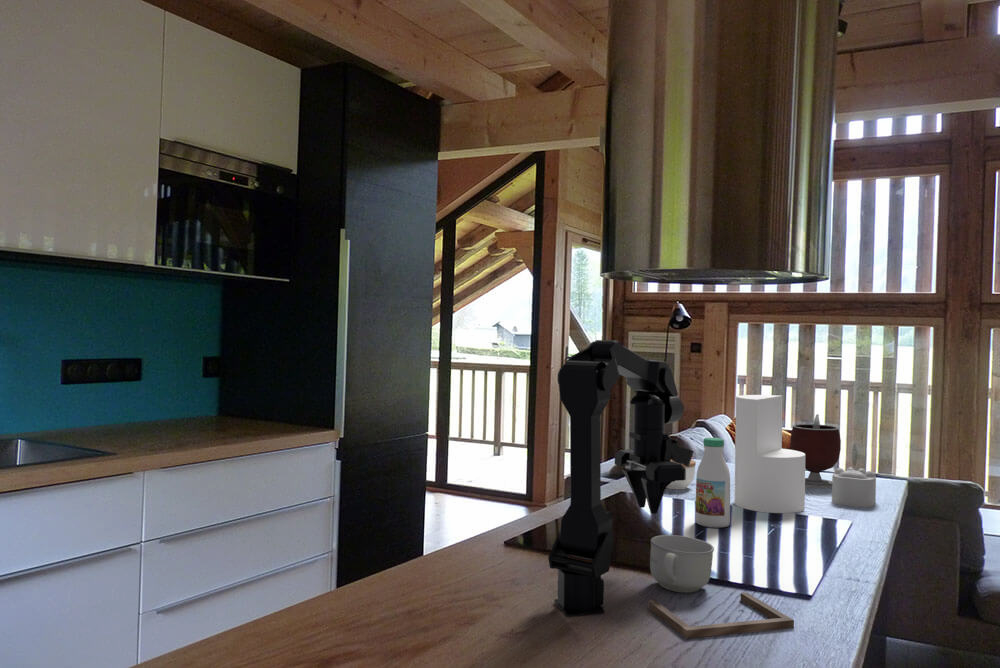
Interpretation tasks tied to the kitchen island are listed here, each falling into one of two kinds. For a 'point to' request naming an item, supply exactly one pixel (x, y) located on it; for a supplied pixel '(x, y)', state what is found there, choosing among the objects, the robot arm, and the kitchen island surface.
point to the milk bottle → (713, 486)
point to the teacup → (680, 562)
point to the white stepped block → (766, 459)
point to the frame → (774, 623)
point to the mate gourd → (817, 449)
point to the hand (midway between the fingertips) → (647, 510)
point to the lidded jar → (689, 477)
